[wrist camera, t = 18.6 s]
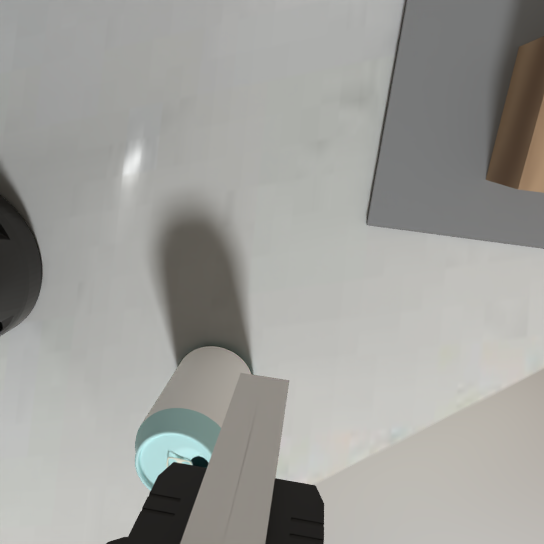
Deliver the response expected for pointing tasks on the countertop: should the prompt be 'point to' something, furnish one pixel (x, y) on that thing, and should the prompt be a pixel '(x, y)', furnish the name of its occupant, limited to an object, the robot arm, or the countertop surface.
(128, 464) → the countertop surface
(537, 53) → the walnut block
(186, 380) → the can
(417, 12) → the mat
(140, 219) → the countertop surface
